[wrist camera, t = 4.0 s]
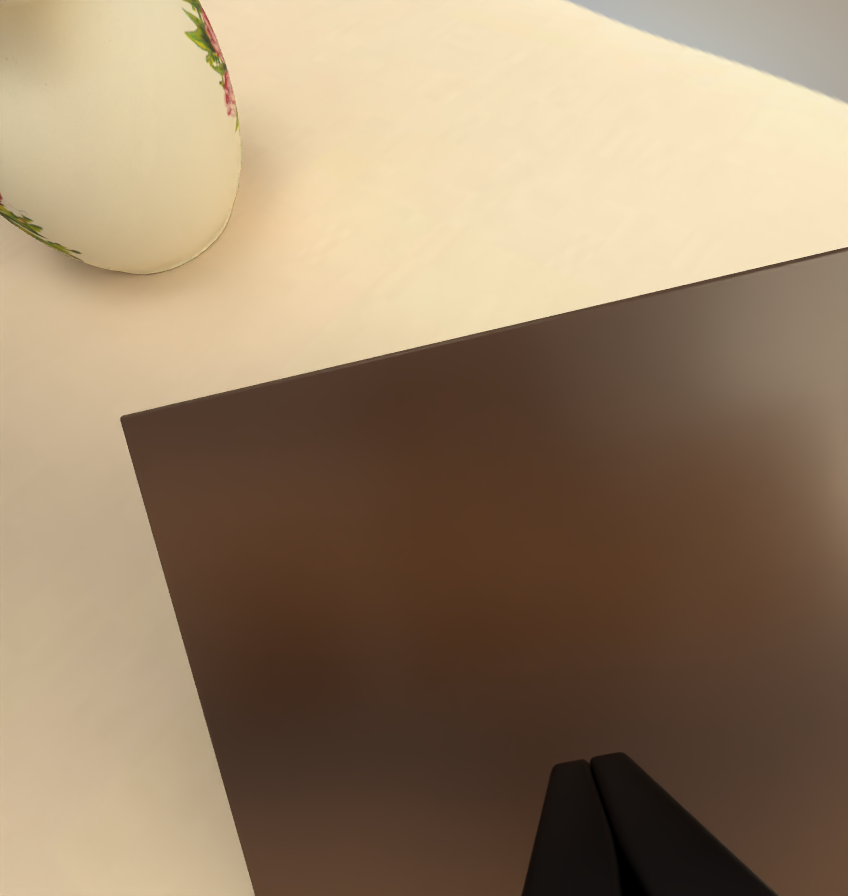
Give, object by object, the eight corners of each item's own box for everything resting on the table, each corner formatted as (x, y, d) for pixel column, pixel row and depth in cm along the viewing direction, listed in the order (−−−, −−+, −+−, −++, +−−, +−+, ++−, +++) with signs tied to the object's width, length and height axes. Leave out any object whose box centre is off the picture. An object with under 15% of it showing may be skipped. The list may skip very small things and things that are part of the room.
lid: (140, 412, 12) (117, 417, 11) (843, 249, 11) (874, 240, 10) (327, 1080, 13) (319, 1127, 12) (954, 974, 12) (989, 1017, 12)
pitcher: (169, 60, 39) (-6, -284, 27) (356, 248, 31) (227, -123, 19) (-14, 170, 37) (-291, -144, 25) (133, 399, 29) (-169, 100, 17)
